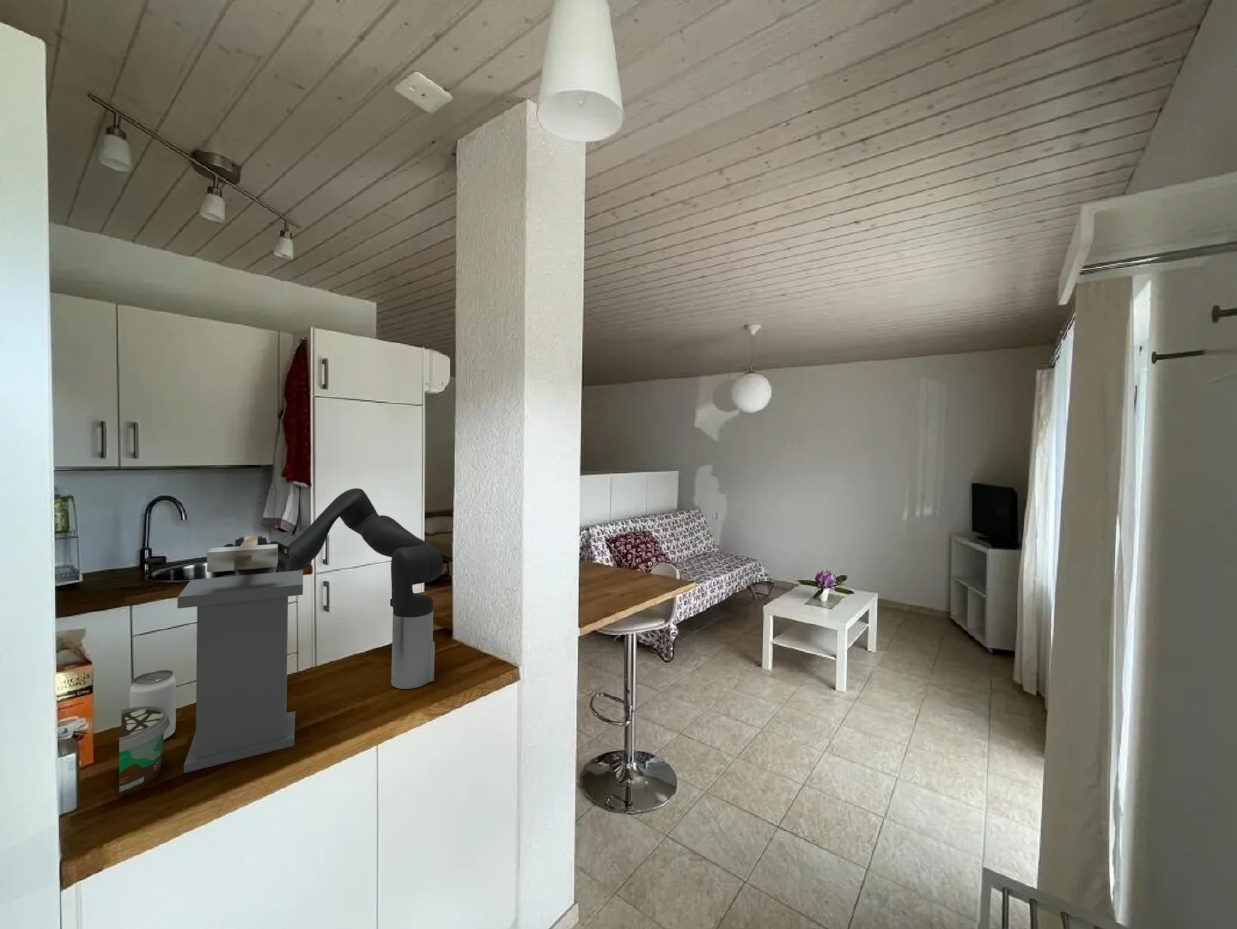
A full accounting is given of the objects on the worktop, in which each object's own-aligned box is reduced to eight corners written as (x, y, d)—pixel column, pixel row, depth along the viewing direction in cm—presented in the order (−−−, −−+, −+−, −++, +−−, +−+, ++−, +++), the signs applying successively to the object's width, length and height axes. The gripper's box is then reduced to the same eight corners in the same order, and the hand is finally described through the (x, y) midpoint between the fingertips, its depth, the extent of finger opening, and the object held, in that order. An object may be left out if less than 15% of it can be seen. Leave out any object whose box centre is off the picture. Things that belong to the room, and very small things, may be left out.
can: (147, 750, 91) (147, 686, 91) (120, 744, 92) (120, 681, 92) (184, 730, 97) (184, 671, 97) (158, 726, 99) (158, 667, 98)
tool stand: (300, 714, 104) (303, 570, 104) (300, 744, 94) (302, 584, 93) (189, 739, 95) (191, 579, 94) (176, 775, 85) (177, 597, 84)
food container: (171, 784, 83) (171, 725, 82) (118, 801, 78) (119, 739, 78) (168, 750, 91) (168, 697, 91) (120, 764, 87) (121, 708, 87)
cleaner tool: (281, 546, 108) (281, 530, 108) (276, 566, 91) (276, 548, 91) (223, 549, 102) (223, 533, 102) (206, 572, 86) (207, 552, 85)
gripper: (292, 579, 115) (290, 555, 102) (215, 586, 107) (203, 561, 94) (292, 548, 118) (291, 521, 105) (218, 553, 110) (207, 525, 97)
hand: (250, 540), depth 100 cm, fingers closed on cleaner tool, 2 cm apart
